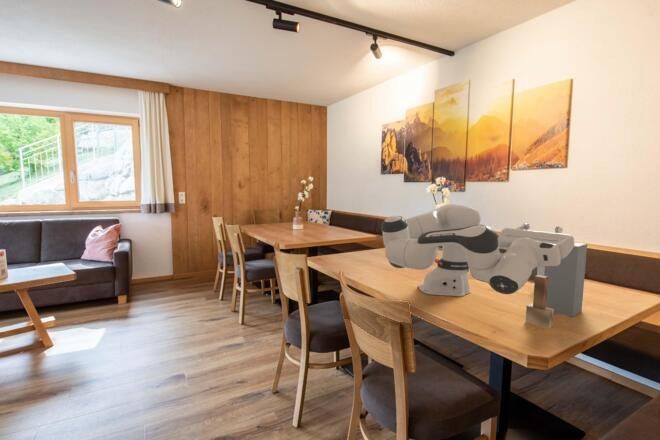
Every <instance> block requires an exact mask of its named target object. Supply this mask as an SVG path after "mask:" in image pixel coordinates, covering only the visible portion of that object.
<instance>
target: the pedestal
mask: <svg viewBox="0 0 660 440" xmlns="http://www.w3.org/2000/svg"><path fill="white" fill-rule="evenodd" d="M587 251H588V243H585V242H575V241H574V247H573V249H572V250H571V252H570V253H569V254H568V255H567V256H566V257H565V258H563V259H561V261H560V264H559V265H558V266H545V273H544V276H548V289H547V303H546V307H548V308H552V309H554V314H555V313H556V314H560V315H563V316H566V317H571V318H574V317H575V316H577V315H578V314H580V313H581V312H582V310H583V300H584V299H583V298H584V287H585V275H586V264H587V263H586V262H587Z"/></svg>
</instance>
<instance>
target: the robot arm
mask: <svg viewBox="0 0 660 440" xmlns="http://www.w3.org/2000/svg"><path fill="white" fill-rule="evenodd" d="M480 223H481V215H480V213H479V211H478V210H477V209H475V208H474V207H471V206H470V205H463V204H455V203H454V204H451V203H449V204H444V205H441V206H439V207H437V208H434V209H433V210H431V211H429V212H426V213H425V212H424V213H422V214H418V215H416V216H415V215H414V216H411V217H408V218H404V217H403V216H402V215H391V216H388V217H386V218H384V219H383V221H382V222H381V228H380V230H381V232H382V240H383V245H384V248H385V250H384V255H385V258H386V259H387V261H388V263H389V264H390V265H391V266H392V267H394V268H396V269H405V268H407V269H412V270H419V271H422V270H426V269H428V268H430V267H431V266H432V265H433V264H434V263H435V264H437V266H436V267H435V268H433V269H432V270H430V271H429V272H427V273H426V274H425V276H424V278H423V283H419V285H418V290H420V291H421V292H422V293H424V294H426V295H431V296H432V295H433V296H434V295H435V296H447V297H449V296H451V297H465V296H466V295H468V294H470V293H471V291H472V290H471V288H470V282H469V272H470V275H471V277H472V278H473V279H475V280H477V281H479V282H483V283H487V284H488V285H489V286H490V287H491V289H493V291H495V292H497V293H499V294H502V295H511V294H515V293H517V292H518V291H519V290H521V289H522V288H523V287H524V286H525V284H526V282H527V281H529V280H530V279H529V277H530V276H531V273H532V270H533V269H535V268H536V267H542V266H558V265H559V264H560V261H561V259H563V258H565V257H566V256H567V255H568V254H569V253H570V252H571V250H572V249H573V247H574V242H575V238H574V236H573V235H572V234H570V233H569V234H568V233H563V226H557V225H556V226H555V228H554V232H550V231H539V230H530V223H523V224H522V225H521V226H518V227H516V228H509V227H506V228H503V229H501V231H500V233H499V234H498V233H497V231H496V230H494V229H493V228H492V227H490V226H487V225H485V224H480ZM439 247H442V250H441V251H442V252H441V258H440V259H438V258H437V257H438V251H439ZM500 250H504V251H505V252H504V253H502V252H500Z"/></svg>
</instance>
